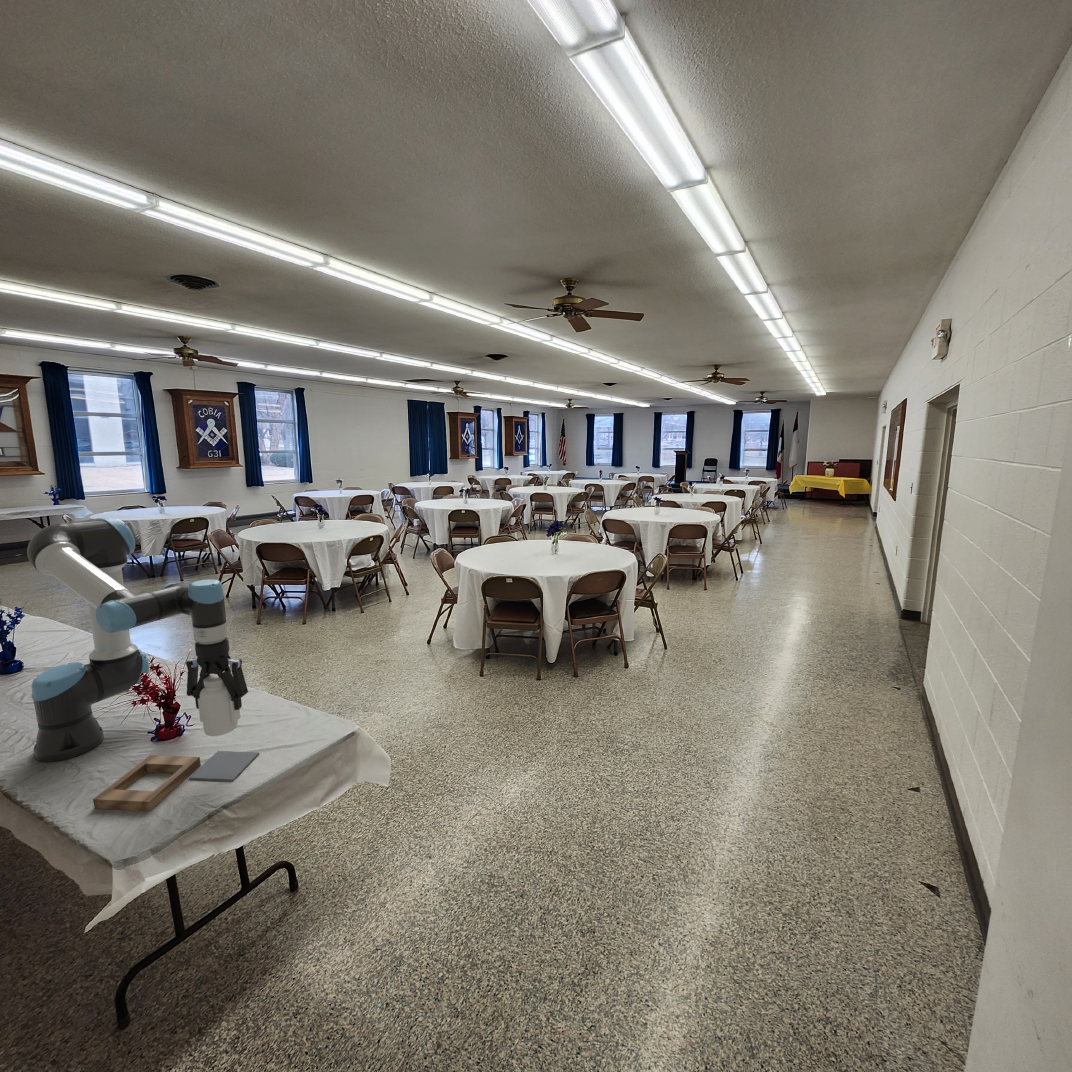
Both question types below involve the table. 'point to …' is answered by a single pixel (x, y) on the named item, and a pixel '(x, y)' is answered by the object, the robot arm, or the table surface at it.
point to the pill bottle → (216, 707)
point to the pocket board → (146, 800)
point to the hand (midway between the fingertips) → (220, 719)
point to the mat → (224, 766)
